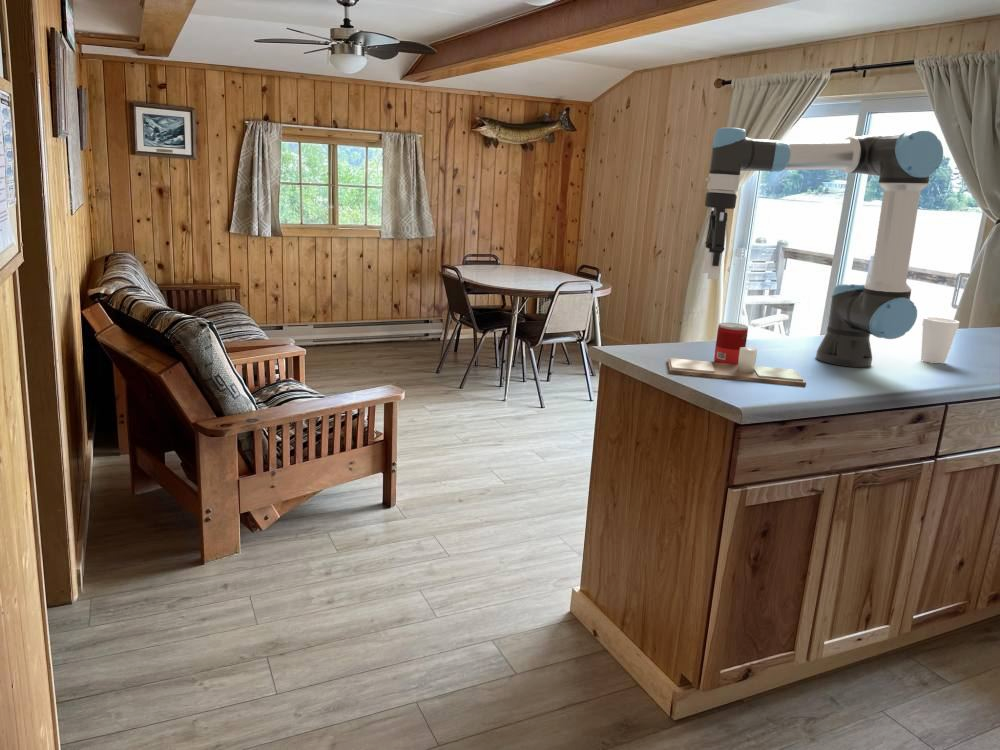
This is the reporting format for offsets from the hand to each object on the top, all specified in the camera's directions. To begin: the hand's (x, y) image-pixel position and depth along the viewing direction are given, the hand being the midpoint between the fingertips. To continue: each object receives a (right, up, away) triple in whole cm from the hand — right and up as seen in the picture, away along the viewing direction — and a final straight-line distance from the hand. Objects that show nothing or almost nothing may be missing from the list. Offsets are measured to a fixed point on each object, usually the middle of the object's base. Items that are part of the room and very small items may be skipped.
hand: (710, 276), depth 194 cm
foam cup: (+78, -22, +34) cm, 88 cm away
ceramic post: (+11, -26, +5) cm, 28 cm away
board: (+8, -25, +5) cm, 27 cm away
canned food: (+10, -23, +17) cm, 30 cm away
